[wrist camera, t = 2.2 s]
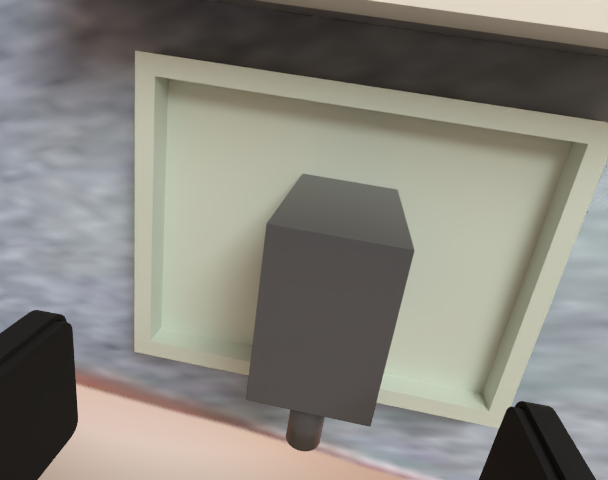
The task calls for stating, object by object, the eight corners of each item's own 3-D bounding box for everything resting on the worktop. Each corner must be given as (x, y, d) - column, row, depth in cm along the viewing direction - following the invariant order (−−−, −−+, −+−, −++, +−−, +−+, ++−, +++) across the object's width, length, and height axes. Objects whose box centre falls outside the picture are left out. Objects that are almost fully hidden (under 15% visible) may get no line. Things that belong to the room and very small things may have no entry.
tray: (595, 119, 17) (620, 124, 15) (491, 401, 21) (501, 429, 20) (156, 53, 18) (134, 50, 16) (151, 332, 23) (134, 351, 21)
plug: (397, 189, 18) (414, 250, 11) (361, 351, 21) (358, 473, 14) (302, 173, 18) (266, 223, 12) (279, 334, 21) (240, 447, 15)
